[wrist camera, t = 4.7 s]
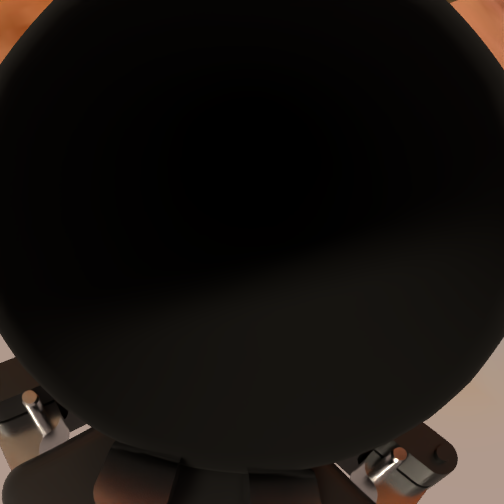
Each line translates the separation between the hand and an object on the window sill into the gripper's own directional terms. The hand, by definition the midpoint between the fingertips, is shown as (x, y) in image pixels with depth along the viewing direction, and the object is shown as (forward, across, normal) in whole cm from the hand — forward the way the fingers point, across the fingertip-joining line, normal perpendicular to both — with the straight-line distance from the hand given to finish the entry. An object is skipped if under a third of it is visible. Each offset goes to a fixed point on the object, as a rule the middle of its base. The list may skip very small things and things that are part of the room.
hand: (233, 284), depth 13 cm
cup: (+3, 0, -5) cm, 6 cm away
